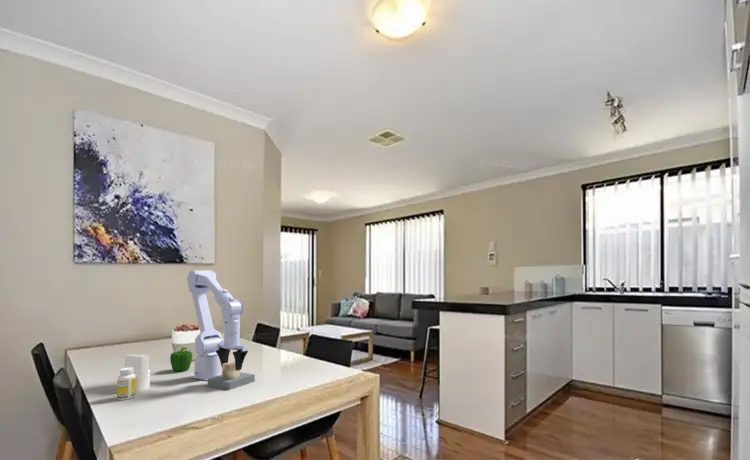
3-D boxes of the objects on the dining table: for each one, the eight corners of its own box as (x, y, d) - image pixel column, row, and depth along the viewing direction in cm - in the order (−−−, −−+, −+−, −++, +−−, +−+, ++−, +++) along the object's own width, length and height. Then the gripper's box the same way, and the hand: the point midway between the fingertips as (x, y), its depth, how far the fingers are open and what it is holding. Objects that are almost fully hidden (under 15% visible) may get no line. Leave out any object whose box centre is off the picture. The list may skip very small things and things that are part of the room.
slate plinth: (207, 385, 151) (207, 378, 151) (232, 377, 161) (233, 371, 161) (229, 389, 145) (229, 382, 145) (254, 381, 155) (254, 374, 155)
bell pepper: (166, 371, 173) (167, 347, 174) (186, 367, 180) (186, 344, 181) (175, 374, 168) (175, 349, 169) (194, 370, 174) (195, 346, 175)
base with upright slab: (115, 390, 146) (116, 357, 147) (137, 383, 155) (138, 352, 156) (133, 393, 143) (134, 358, 144) (155, 385, 152) (156, 353, 153)
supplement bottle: (131, 394, 142) (132, 365, 143) (137, 397, 139) (138, 368, 139) (114, 398, 138) (115, 369, 139) (120, 401, 134) (121, 371, 135)
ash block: (222, 377, 152) (222, 364, 153) (231, 374, 156) (231, 361, 156) (230, 378, 150) (230, 365, 150) (239, 375, 154) (240, 362, 154)
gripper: (210, 333, 155) (210, 369, 153) (237, 335, 148) (236, 373, 146) (225, 330, 161) (225, 365, 160) (251, 332, 154) (251, 368, 153)
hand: (231, 368), depth 153 cm, fingers open, 7 cm apart
